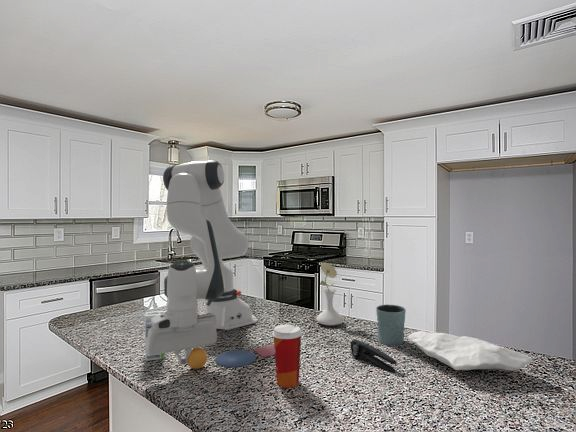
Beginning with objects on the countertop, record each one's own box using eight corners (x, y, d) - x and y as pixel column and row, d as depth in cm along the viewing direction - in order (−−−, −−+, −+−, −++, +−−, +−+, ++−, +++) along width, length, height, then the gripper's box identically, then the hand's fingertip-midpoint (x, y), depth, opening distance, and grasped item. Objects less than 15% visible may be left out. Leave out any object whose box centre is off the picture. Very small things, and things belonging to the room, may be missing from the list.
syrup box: (145, 361, 118) (144, 316, 118) (146, 354, 124) (145, 311, 123) (164, 359, 120) (163, 314, 119) (165, 352, 125) (164, 309, 125)
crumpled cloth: (524, 396, 91) (525, 357, 92) (389, 359, 114) (391, 328, 114) (536, 376, 109) (537, 345, 110) (417, 348, 132) (419, 322, 132)
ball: (190, 368, 115) (206, 354, 118) (197, 376, 110) (213, 361, 113) (180, 354, 113) (196, 340, 116) (187, 362, 108) (203, 347, 111)
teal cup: (400, 336, 138) (400, 304, 138) (410, 346, 128) (410, 311, 128) (373, 337, 138) (372, 304, 138) (380, 347, 128) (380, 312, 127)
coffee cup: (285, 373, 109) (285, 322, 108) (308, 381, 103) (308, 327, 103) (266, 384, 102) (265, 329, 102) (289, 393, 97) (288, 335, 96)
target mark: (246, 347, 129) (246, 347, 129) (262, 361, 117) (262, 360, 117) (209, 355, 122) (209, 355, 122) (223, 370, 111) (223, 369, 111)
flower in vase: (349, 325, 151) (348, 264, 151) (324, 329, 147) (323, 266, 146) (333, 317, 163) (333, 260, 163) (310, 320, 159) (309, 261, 159)
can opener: (345, 356, 121) (345, 338, 121) (361, 351, 125) (360, 334, 125) (386, 376, 106) (386, 357, 106) (403, 370, 110) (403, 351, 110)
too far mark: (274, 344, 131) (274, 344, 131) (285, 352, 124) (285, 351, 124) (253, 349, 127) (253, 348, 127) (263, 357, 120) (263, 356, 120)
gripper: (213, 310, 119) (213, 353, 119) (145, 319, 109) (145, 367, 109) (219, 314, 113) (220, 360, 113) (148, 324, 103) (149, 374, 103)
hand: (183, 363), depth 111 cm, fingers closed
